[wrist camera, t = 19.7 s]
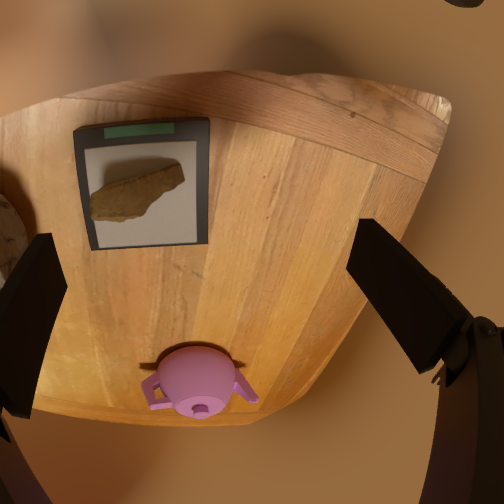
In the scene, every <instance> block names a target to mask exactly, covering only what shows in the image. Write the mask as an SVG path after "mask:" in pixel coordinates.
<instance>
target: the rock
mask: <svg viewBox="0 0 504 504" xmlns="http://www.w3.org/2000/svg"><path fill="white" fill-rule="evenodd" d="M183 182H185V177H184V174H183V170H182V167H181V164H180V163H176V164H172V165H169V166H167V167H164V168H161V169H158V170H154V171H151V172H147V173H145V174H142V175H139V176H138V175H136V176H133V177H130V178H125V179H123V180H120V181H117V182H112V183H108V184H106V185H104V186H103V187H101V189H99V190H98V191H96V192H94V193H92V194H91V197H90V205H89V211H90V217H91V219H93V221H94V220H95V221H105V220H106V221H110V222H118V223H121V222H124V221H125V220H128V219H135V218H137V217H141V216H143V215H144V214H146V211H147V209H148V208H149V207H150V205H151V204H152V203H153V202H155V201H156V200H158V198H160V197H161V196H162V195H163V193H165V192H169V191H172V190H174V189H175V188H176V187H177V186H178V185H180V184H182V183H183Z"/></svg>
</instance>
